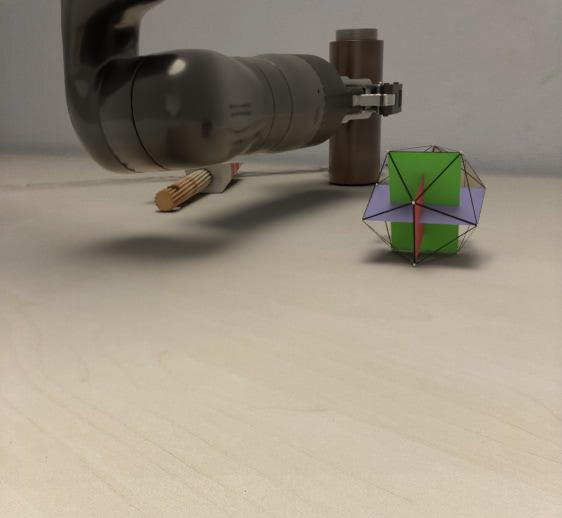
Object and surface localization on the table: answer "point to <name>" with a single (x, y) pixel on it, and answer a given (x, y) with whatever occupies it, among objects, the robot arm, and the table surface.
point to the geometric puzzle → (427, 200)
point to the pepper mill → (358, 132)
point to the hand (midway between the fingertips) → (365, 96)
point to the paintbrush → (197, 184)
